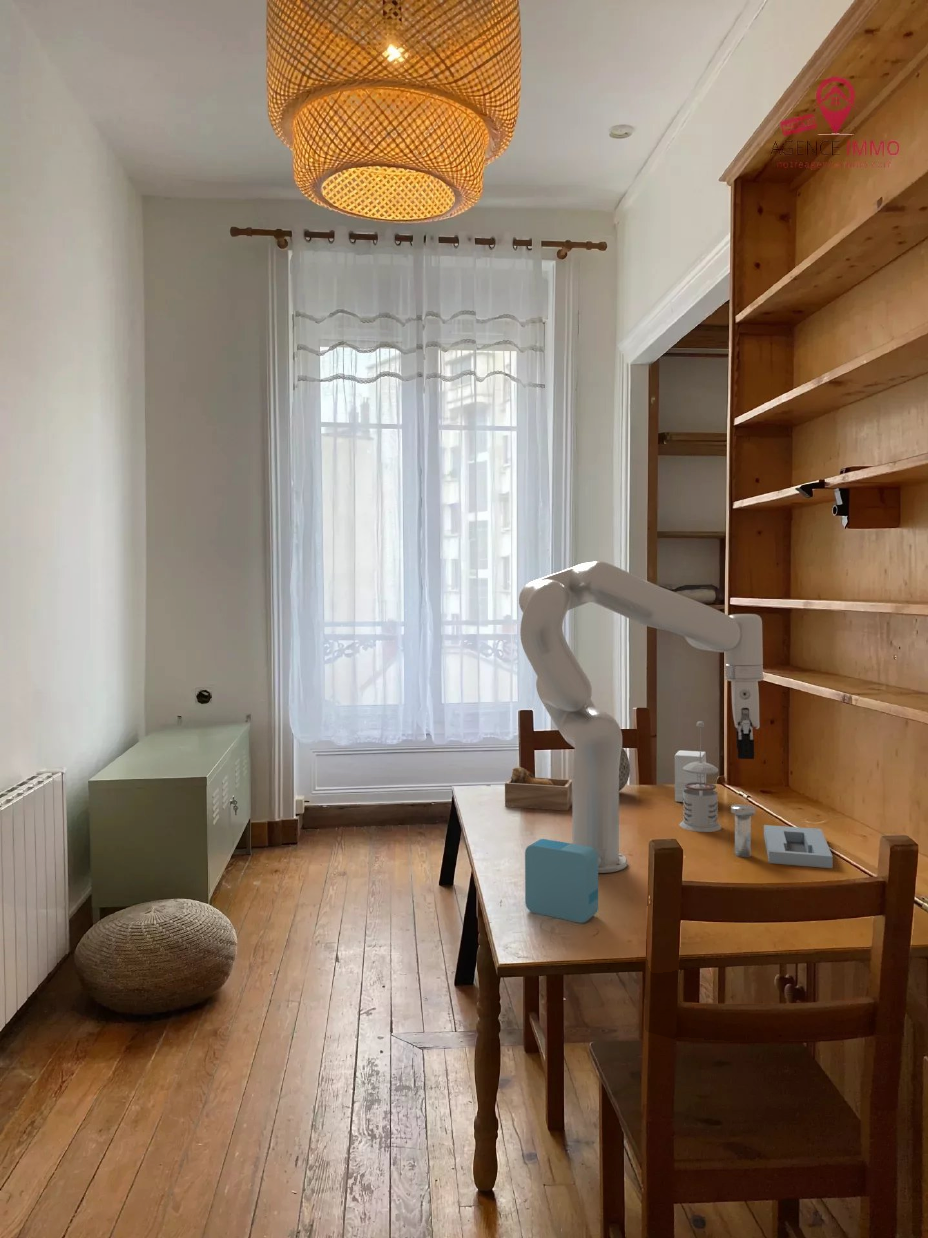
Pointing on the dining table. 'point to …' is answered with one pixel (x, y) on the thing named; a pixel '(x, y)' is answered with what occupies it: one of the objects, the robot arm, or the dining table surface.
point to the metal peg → (742, 829)
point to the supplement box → (685, 777)
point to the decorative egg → (623, 769)
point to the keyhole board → (797, 846)
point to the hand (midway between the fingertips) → (745, 754)
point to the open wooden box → (540, 794)
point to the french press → (700, 798)
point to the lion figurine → (527, 777)
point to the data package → (561, 880)
